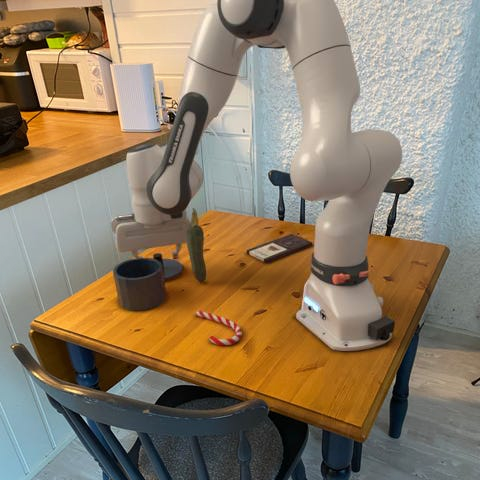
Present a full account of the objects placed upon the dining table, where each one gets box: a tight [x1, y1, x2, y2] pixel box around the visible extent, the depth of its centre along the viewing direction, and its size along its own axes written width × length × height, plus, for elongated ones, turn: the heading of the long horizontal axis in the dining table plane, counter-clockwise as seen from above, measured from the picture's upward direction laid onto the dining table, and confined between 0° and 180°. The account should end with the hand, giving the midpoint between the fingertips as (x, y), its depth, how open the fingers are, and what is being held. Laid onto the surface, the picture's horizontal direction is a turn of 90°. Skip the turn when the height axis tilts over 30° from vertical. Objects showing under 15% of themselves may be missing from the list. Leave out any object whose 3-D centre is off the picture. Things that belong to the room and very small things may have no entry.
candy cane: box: [195, 310, 243, 346], centre depth 104 cm, size 8×1×15 cm
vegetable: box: [186, 207, 208, 284], centre depth 117 cm, size 4×4×20 cm
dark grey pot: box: [112, 257, 167, 312], centre depth 114 cm, size 12×12×8 cm
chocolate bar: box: [246, 233, 313, 264], centre depth 138 cm, size 9×1×18 cm
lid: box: [152, 252, 184, 281], centre depth 127 cm, size 13×13×5 cm
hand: (158, 261), depth 126 cm, fingers open, 8 cm apart
